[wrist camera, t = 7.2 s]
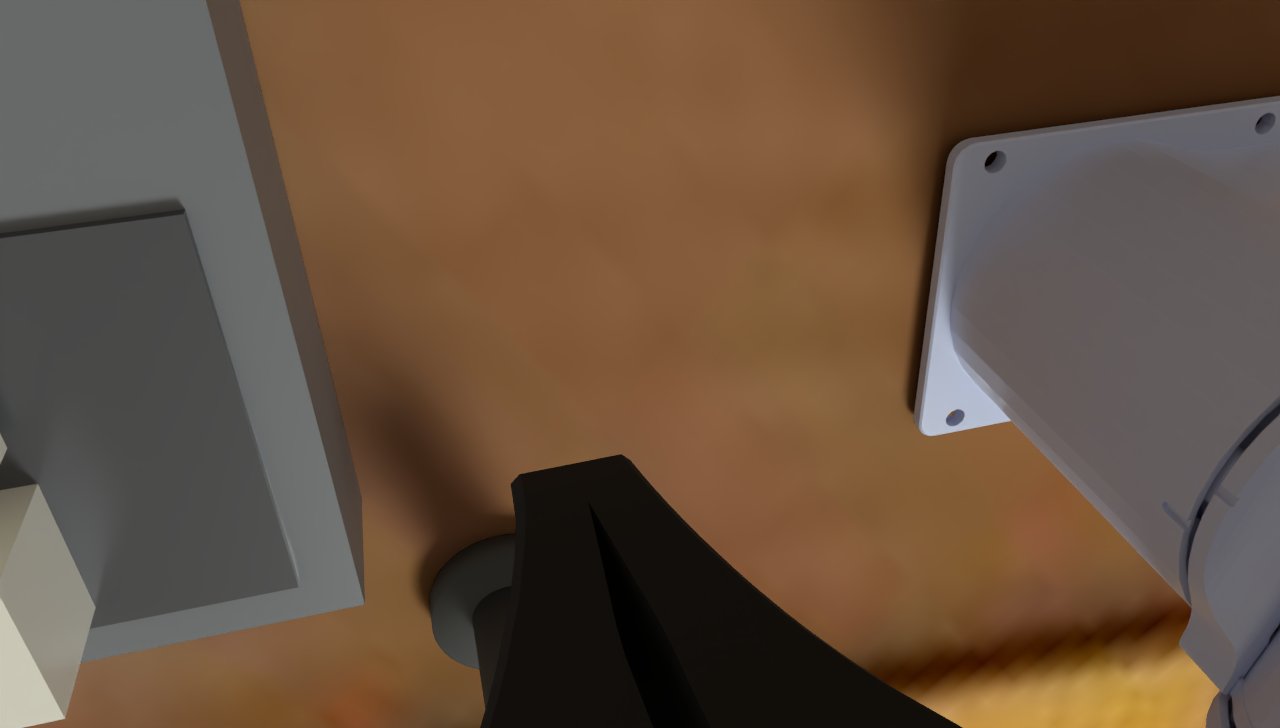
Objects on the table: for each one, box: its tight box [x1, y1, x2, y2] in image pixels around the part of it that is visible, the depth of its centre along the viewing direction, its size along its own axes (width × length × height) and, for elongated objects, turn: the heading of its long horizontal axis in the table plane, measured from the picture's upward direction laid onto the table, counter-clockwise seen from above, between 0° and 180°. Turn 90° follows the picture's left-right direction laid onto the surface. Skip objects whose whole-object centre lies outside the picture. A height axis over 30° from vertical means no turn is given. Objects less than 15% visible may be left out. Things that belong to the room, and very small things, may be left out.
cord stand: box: [430, 534, 516, 709], centre depth 24 cm, size 4×4×7 cm
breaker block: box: [0, 0, 365, 728], centre depth 17 cm, size 7×14×6 cm, turn 2°
